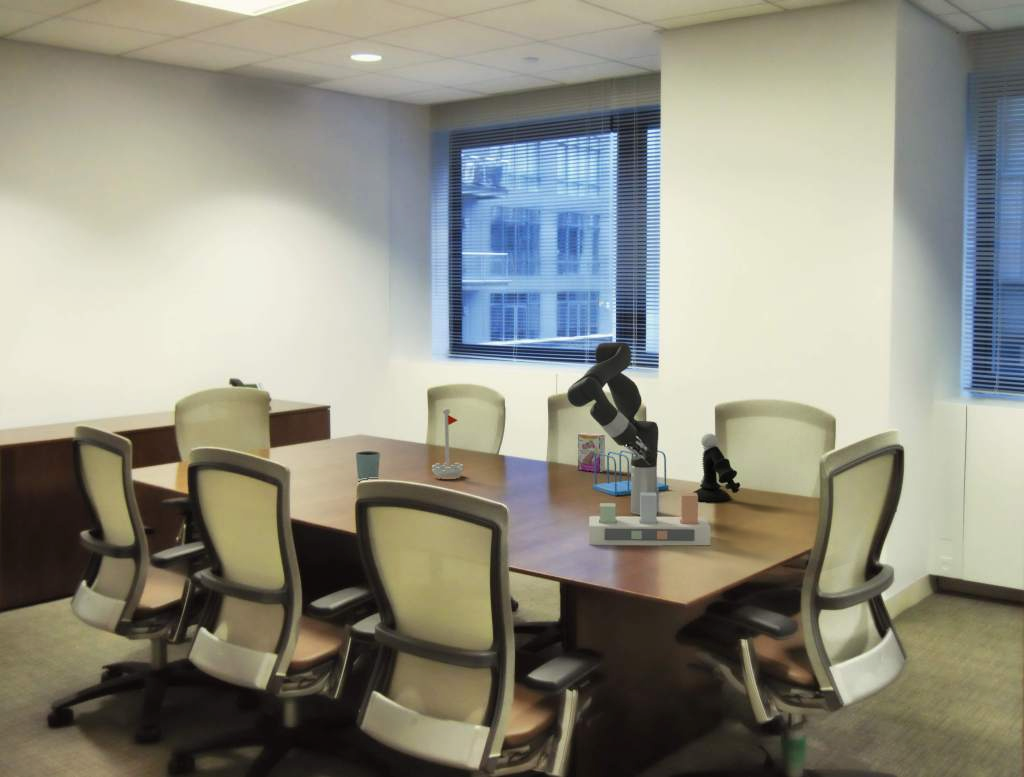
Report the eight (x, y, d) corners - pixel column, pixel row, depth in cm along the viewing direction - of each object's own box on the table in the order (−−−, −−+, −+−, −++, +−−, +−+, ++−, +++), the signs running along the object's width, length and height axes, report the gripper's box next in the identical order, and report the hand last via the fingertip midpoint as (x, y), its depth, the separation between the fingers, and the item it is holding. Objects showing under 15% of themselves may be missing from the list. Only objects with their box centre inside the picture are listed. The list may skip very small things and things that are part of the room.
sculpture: (714, 493, 406) (714, 430, 403) (753, 504, 385) (754, 437, 382) (682, 497, 399) (682, 433, 396) (720, 509, 378) (721, 441, 375)
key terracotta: (681, 526, 331) (682, 495, 330) (680, 523, 336) (680, 492, 335) (697, 526, 330) (697, 495, 329) (696, 523, 335) (696, 492, 334)
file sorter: (645, 483, 429) (645, 446, 427) (669, 490, 413) (669, 452, 411) (592, 488, 418) (592, 451, 416) (614, 496, 402) (614, 457, 401)
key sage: (600, 537, 333) (599, 506, 332) (600, 533, 338) (600, 503, 337) (615, 537, 333) (615, 506, 332) (615, 533, 338) (615, 503, 337)
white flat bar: (588, 545, 329) (588, 526, 328) (589, 534, 343) (589, 516, 343) (710, 546, 325) (710, 527, 325) (705, 535, 340) (706, 517, 339)
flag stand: (427, 479, 441) (426, 409, 438) (438, 474, 454) (437, 405, 451) (456, 480, 438) (455, 410, 435) (467, 475, 450) (465, 406, 447)
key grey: (640, 526, 332) (640, 495, 331) (640, 522, 337) (640, 492, 336) (656, 526, 331) (656, 495, 330) (655, 522, 336) (655, 492, 335)
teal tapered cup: (353, 479, 443) (352, 452, 441) (376, 477, 447) (375, 450, 446) (360, 483, 434) (359, 455, 432) (383, 481, 438) (383, 453, 437)
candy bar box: (577, 470, 457) (577, 433, 455) (582, 469, 461) (582, 432, 460) (600, 473, 451) (600, 435, 449) (605, 471, 455) (605, 434, 454)
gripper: (636, 420, 314) (671, 457, 320) (615, 415, 327) (649, 451, 333) (621, 439, 313) (656, 475, 319) (600, 433, 325) (634, 468, 331)
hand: (652, 463), depth 326 cm, fingers closed
